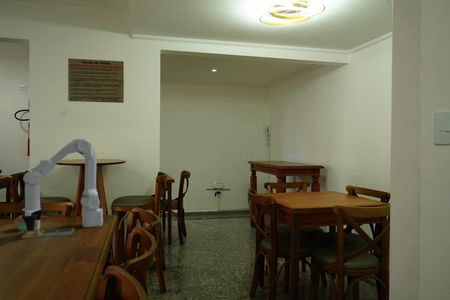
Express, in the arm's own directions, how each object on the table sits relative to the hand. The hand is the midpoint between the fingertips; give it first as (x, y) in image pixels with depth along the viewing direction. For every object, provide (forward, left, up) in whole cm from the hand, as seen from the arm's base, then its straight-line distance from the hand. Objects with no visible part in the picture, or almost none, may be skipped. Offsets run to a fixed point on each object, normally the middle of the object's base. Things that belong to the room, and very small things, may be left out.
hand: (33, 228), depth 144 cm
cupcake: (+8, -15, -4) cm, 17 cm away
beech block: (0, 0, -3) cm, 3 cm away
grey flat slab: (-6, 0, -4) cm, 7 cm away
